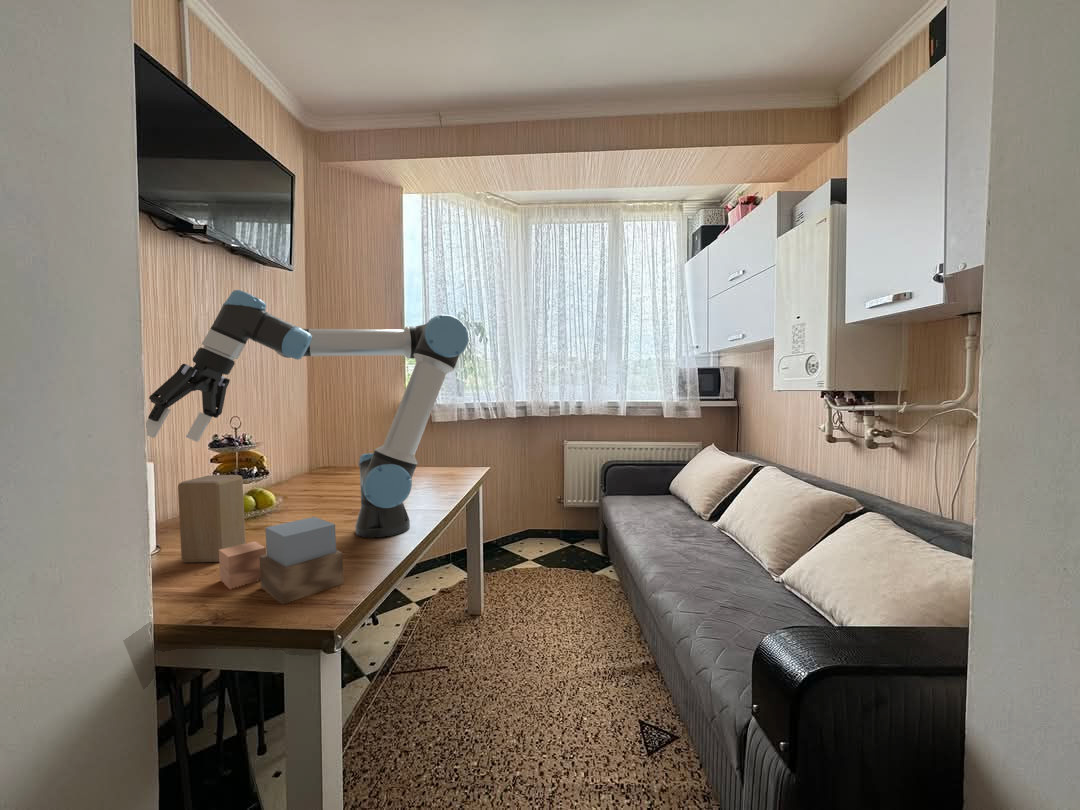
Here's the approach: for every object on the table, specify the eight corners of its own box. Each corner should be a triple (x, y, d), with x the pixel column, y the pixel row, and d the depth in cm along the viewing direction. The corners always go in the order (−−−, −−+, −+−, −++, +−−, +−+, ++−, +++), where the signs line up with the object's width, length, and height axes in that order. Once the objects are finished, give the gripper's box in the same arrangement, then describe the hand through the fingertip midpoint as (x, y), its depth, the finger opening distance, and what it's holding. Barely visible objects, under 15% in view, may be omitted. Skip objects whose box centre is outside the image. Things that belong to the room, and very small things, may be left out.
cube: (256, 571, 105) (255, 541, 104) (267, 578, 100) (265, 547, 100) (220, 581, 99) (218, 549, 99) (229, 589, 95) (228, 556, 95)
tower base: (319, 570, 104) (318, 540, 104) (343, 584, 96) (342, 552, 96) (260, 588, 95) (259, 556, 95) (282, 605, 87) (281, 570, 87)
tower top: (315, 542, 103) (314, 516, 102) (336, 552, 96) (335, 524, 96) (266, 555, 95) (265, 527, 95) (285, 566, 89) (284, 536, 88)
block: (210, 549, 120) (207, 474, 119) (247, 549, 120) (244, 474, 119) (179, 564, 110) (175, 482, 109) (219, 563, 110) (215, 481, 109)
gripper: (235, 359, 117) (193, 434, 114) (163, 330, 93) (107, 425, 89) (262, 371, 117) (221, 446, 114) (197, 345, 93) (142, 440, 89)
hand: (171, 437), depth 102 cm, fingers open, 13 cm apart
